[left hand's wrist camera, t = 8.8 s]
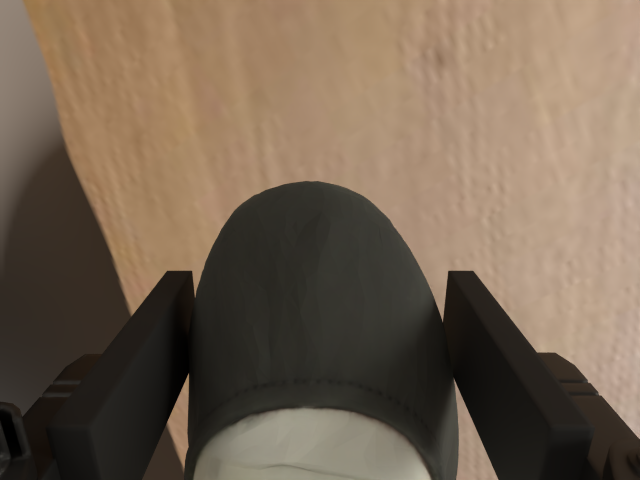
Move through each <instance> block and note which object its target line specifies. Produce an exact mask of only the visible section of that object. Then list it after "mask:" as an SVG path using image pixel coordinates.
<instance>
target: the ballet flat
mask: <svg viewBox="0 0 640 480" xmlns="http://www.w3.org/2000/svg"><path fill="white" fill-rule="evenodd" d="M188 349H189V405H188V445H189V448H188V450H187V454H186V459H185V471H184V480H456V476H457V467H458V446H459V434H458V414H457V403H456V393H455V385H454V378H453V373H452V367H451V361H450V355H449V350H448V345H447V337H446V333H445V329H444V325H443V322H442V319H441V316H440V313H439V310H438V307H437V305H436V302H435V299H434V296H433V294H432V291H431V289H430V287H429V285H428V283H427V280H426V278H425V276H424V274H423V272H422V271H421V269H420V267H419V265H418V263H417V261H416V259H415V257H414V256H413V254H412V252H411V250H410V249H409V247H408V246H407V244H406V243H405V241H404V240H403V238H402V237H401V235H400V234H399V233H398V231H397V230H396V229H395V228H394V226H393V225H392V223H391V221H390V220H389V219H388V218H387V217H386V216H385V215H384V214H383V213H382V212H381V211H380V210H379V209H378V208H377V207H376V206H375V205H374V204H373V203H371V201H369V200H368V199H366V198H365V197H364V196H362V195H360V194H358V193H356V192H354V191H351V190H349V189H347V188H344V187H341V186H338V185H334V184H329V183H324V182H319V181H314V182H309V181H304V182H296V183H289V184H284V185H281V186H278V187H275V188H271V189H268V190H265V191H263V192H261V193H260V194H257V195H254V196H253V197H251V198H250V199H248V200H247V201H245V202H244V203H242V204H241V205H240V206H239V207H238V208H237V209H236V210H235V211H234V212H233V213H232V215H231V216H230V218H229V219H228V220H227V222H226V223H225V225H224V226H223V228H222V229H221V231H220V233H219V235H218V237H217V239H216V241H215V243H214V244H213V246H212V249H211V251H210V253H209V256H208V258H207V260H206V263H205V266H204V269H203V272H202V275H201V279H200V282H199V285H198V288H197V291H196V297H195V300H194V306H193V310H192V315H191V320H190V328H189V332H188Z"/></svg>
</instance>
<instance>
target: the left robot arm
mask: <svg viewBox="0 0 640 480" xmlns="http://www.w3.org/2000/svg"><path fill="white" fill-rule="evenodd" d="M194 300H195V295H194V285H193V276H192V271H167V272H166V273H165V274H164V276H163V277H162V278H161V280H160V281H159V282H158V283H157V285H156V286H155V287H154V289H153V290H152V291H151V292H150V294H149V295H148V296H147V297H146V299H145V300H144V301H143V303H142V304H141V305H140V306H139V308H138V309H137V310H136V312H135V313H134V314H133V315H132V317H131V318H130V319H129V321H128V322H127V323H126V324H125V326H124V327H123V328H122V330H121V331H120V332H119V333H118V335H117V336H116V337H115V339H114V340H113V341H112V342H111V344H110V345H109V346H108V348H107V349H106V350H105V351H104V353H103V354H85V355H83V356H82V357H80V358H79V359H77V360H76V361H74V362H73V363H71V364H70V365H68V366H67V367H66V368H65V369H64V370H63V371H62V372H61V373H60V374H59V376H58V377H57V378H56V379H55V380H54V381H53V385H50V386H49V387H48V388H47V389H46V391H45V392H44V393H43V394H42V397H39V399H38V400H37V401H36V402H35V403H34V404H33V405H32V407H31V408H30V409H29V410H28V411H27V412H26V414H25V415H24V416H23V417H22V415H21V411H20V409H19V408H18V407H17V406H15V405H14V404H12V403H6V402H0V480H142V478H143V476H144V473H145V471H146V469H147V467H148V464H149V462H150V460H151V457H152V455H153V453H154V451H155V449H156V446H157V444H158V442H159V439H160V437H161V435H162V432H163V430H164V428H165V426H166V424H167V421H168V419H169V417H170V414H171V412H172V410H173V408H174V405H175V403H176V401H177V399H178V396H179V394H180V392H181V389H182V387H183V385H184V383H185V380H186V378H187V376H188V374H189V349H188V332H189V328H190V320H191V315H192V310H193V306H194ZM443 325H444V329H445V333H446V337H447V345H448V350H449V355H450V361H451V367H452V373H453V377H454V379H455V382H456V384H457V386H458V389H459V391H460V393H461V395H462V398H463V400H464V402H465V404H466V407H467V409H468V411H469V414H470V416H471V418H472V420H473V423H474V425H475V427H476V429H477V432H478V434H479V436H480V439H481V441H482V443H483V445H484V448H485V450H486V452H487V454H488V457H489V459H490V461H491V464H492V466H493V468H494V470H495V473H496V475H497V477H498V479H499V480H640V439H639V438H638V437H637V436H636V435H635V434H634V433H633V431H632V430H631V429H630V428H629V427H628V426H627V425H626V423H625V422H624V421H623V420H622V419H621V418H620V417H619V415H618V414H617V413H616V412H615V411H614V410H613V409H612V407H611V406H610V405H609V404H608V403H607V402H606V401H605V399H604V398H603V397H602V396H599V394H598V391H597V390H596V389H595V388H594V387H593V386H592V385H591V383H588V380H587V379H586V378H585V377H584V375H583V374H582V373H581V372H580V371H579V370H578V369H577V367H576V366H575V365H573V364H572V363H570V362H569V361H567V360H566V359H564V358H563V357H561V356H559V355H558V354H556V353H537V352H536V351H535V350H534V348H533V347H532V346H531V344H530V343H529V342H528V341H527V339H526V338H525V337H524V335H523V334H522V333H521V332H520V330H519V329H518V328H517V326H516V325H515V324H514V323H513V321H512V320H511V319H510V317H509V316H508V315H507V314H506V312H505V311H504V310H503V308H502V307H501V306H500V305H499V303H498V302H497V301H496V300H495V298H494V297H493V296H492V294H491V293H490V292H489V291H488V289H487V288H486V287H485V285H484V284H483V283H482V282H481V280H480V279H479V278H478V276H477V275H476V274H475V273H474V271H448V280H447V289H446V299H445V308H444V317H443Z"/></svg>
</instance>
